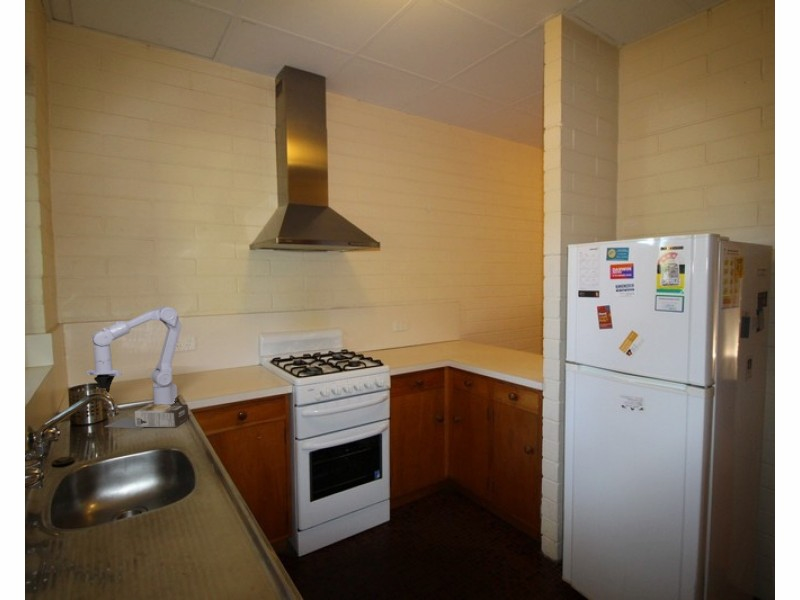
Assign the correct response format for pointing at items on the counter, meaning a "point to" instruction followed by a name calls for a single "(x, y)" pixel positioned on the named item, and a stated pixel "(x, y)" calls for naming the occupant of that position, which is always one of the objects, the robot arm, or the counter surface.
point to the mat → (124, 424)
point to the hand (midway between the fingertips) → (105, 392)
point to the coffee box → (161, 415)
